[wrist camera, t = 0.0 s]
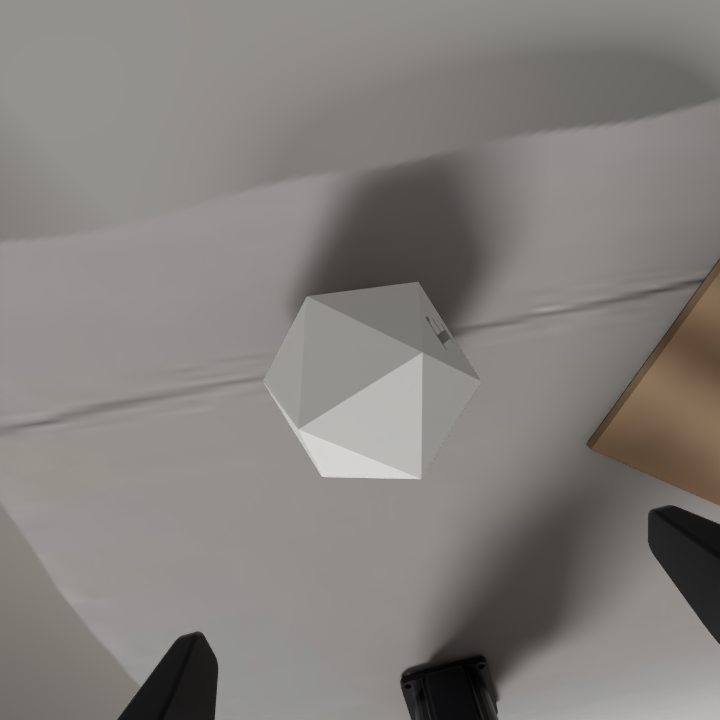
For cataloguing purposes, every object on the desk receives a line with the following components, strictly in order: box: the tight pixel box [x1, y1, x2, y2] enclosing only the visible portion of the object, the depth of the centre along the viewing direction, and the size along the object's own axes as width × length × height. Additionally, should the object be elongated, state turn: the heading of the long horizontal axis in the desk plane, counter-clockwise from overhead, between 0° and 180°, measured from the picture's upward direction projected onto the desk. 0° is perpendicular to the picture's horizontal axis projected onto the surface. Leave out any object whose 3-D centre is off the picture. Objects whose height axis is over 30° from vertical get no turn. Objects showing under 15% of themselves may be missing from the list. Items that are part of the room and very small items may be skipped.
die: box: [263, 282, 481, 479], centre depth 18 cm, size 8×9×10 cm
